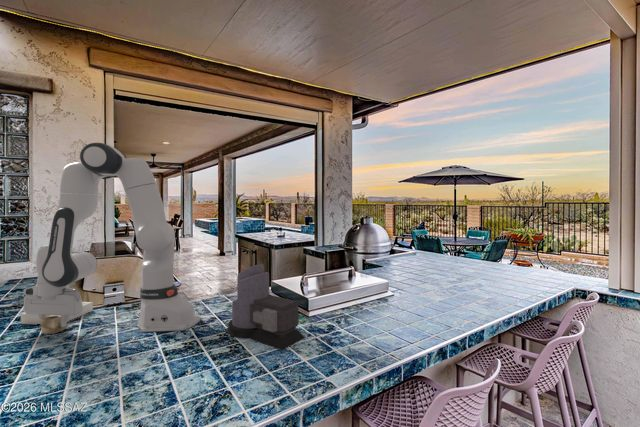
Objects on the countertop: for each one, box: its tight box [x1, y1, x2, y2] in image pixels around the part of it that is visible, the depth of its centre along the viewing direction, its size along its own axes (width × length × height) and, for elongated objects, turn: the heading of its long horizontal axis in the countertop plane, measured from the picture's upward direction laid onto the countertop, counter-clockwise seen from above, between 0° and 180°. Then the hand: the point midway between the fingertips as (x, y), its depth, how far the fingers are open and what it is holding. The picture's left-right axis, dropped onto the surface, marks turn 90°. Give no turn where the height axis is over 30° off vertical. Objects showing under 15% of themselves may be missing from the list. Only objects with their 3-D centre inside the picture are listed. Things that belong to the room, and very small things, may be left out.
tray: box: [20, 301, 94, 326], centre depth 131 cm, size 16×16×4 cm
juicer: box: [224, 263, 306, 351], centre depth 114 cm, size 30×16×24 cm, turn 54°
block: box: [40, 315, 68, 335], centre depth 117 cm, size 5×5×5 cm
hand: (54, 326), depth 117 cm, fingers closed on block, 5 cm apart
